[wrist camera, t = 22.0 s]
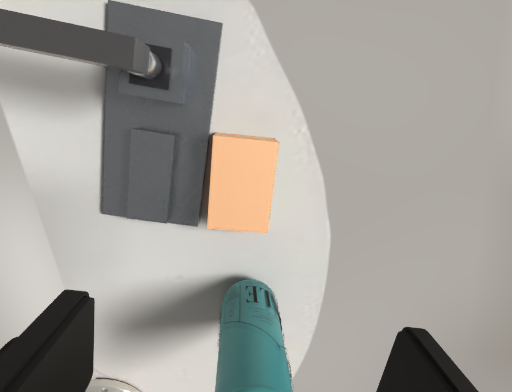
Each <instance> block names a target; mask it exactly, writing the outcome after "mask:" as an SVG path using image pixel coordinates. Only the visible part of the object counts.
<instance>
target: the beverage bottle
mask: <svg viewBox="0 0 512 392" xmlns="http://www.w3.org/2000/svg"><path fill="white" fill-rule="evenodd" d="M273 293H274V292H272V291H271V289H270V288H269V287H268V286H267V285H265V284H264V283H262V282H260V281H257V280H242V281H239V282H237V283H235V284H233V285H232V286H231V287H230V288H229V289H228V290H227V292H226V293H225V295H224V297H223V301H222V311H221V316H220V317H221V320H220V321H221V322H220V323H221V324H220V327H219V328H220V330H219V329H218V330H219V331H220V336H219V353H218V365H217V375H216V386H215V392H293V391H292V386H291V380H292V379H290V377H292V376H290V375H291V374H290V373H289V372H291V368H290V371H289V367H290V365H289V367H288V364H289V363H288V361H287V357H286V354H287V353H286V352H285V349H286V348H285V347H284V340H283V337H284V334H283V335H282V326H281V323H282V322H281V321H280V320H281V318H280V316H279V313H280V312H279V313H278V308H279V307H278V306H277V304H278V302H277V304H276V300H277V299H275V296H274V294H273ZM220 307H221V306H220ZM217 346H218V341H217ZM286 350H287V349H286Z"/></svg>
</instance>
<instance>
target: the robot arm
mask: <svg viewBox="0 0 512 392" xmlns="http://www.w3.org/2000/svg"><path fill="white" fill-rule="evenodd" d="M93 352H94V298H90V297H89V294H88V292H85V291H76V290H64V291H63V292H62V293H61V294H60V295H59V296H58V297H57V298H56V299H55V300H54V301H53V302H52V303H51V304H50V305H49V306H48V307H47V308H46V309H45V310H44V311H43V313H41V314H40V316H38V317H37V318H36V319H35V320H34V321H33V323H32V324H31V325H30V326H29V327H28V328H27V329H26V330H25V331H24V332H23V333H22V334H21V335H20V336H19V337H16V338H13V339H12V340H10V341H9V342H8V343H7V344H5V346H3V348H1V350H0V392H140V391H139V390H137V389H136V388H134V387H132V386H130V385H128V384H126V383H123V382H120V381H116V380H109V379H95V380H91V378H92V374H93ZM376 392H478V391H477V389H476V388H475V387H474V386H473V385H472V383H471V382H470V381H469V380H468V379H467V377H465V375H464V374H463V373H462V372H461V370H460V369H459V368H458V367H457V366H456V364H455V363H454V362H453V361H452V360H451V358H450V357H449V356H448V355H447V354H446V353H445V351H444V350H443V349H442V348H441V347H440V345H439V344H438V343H437V342H436V341H435V340H434V338H433V337H432V336H431V335H430V334H429V333H428V331H426V330H425V329H421V328H412V327H405V328H403V330H402V331H400V332H398V334H397V336H396V339H395V342H394V345H393V347H392V350H391V353H390V356H389V358H388V361H387V364H386V367H385V370H384V372H383V375H382V378H381V380H380V383H379V386H378V389H377V391H376Z"/></svg>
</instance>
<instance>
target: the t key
mask: <svg viewBox="0 0 512 392" xmlns="http://www.w3.org/2000/svg"><path fill="white" fill-rule="evenodd" d="M0 46H4V47H9V48H14V49H19V50H24V51H29V52H34V53H39V54H44V55H49V56H54V57H59V58H64V59H69V60H74V61H79V62H84V63H89V64H94V65H99V66H104V67H109V68H114V69H119V70H124V71H127V72H129V73H132V74H135V75H138V76H141V77H144V78H147V79H154V78H156V77H158V76H159V75H160V73H161V70H162V64H161V61H160V59H159V58H158V56H157V55H155V54H154V53H152V52H151V51H150V47H149V46H147V45H146V44H144V43H143V42H141V41H140V40H138V39H137V38H135V37H131V36H127V35H122V34H117V33H112V32H108V31H103V30H98V29H93V28H89V27H84V26H79V25H75V24H70V23H65V22H60V21H56V20H51V19H46V18H42V17H37V16H32V15H27V14H23V13H18V12H13V11H8V10H4V9H0Z"/></svg>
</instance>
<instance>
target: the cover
mask: <svg viewBox="0 0 512 392" xmlns="http://www.w3.org/2000/svg"><path fill="white" fill-rule="evenodd" d="M278 149H279V142H278V141H277V140H276V139H275V138H265V137H256V136H246V135H237V134H227V133H217V132H216V133H215V134H214V135H213V146H212V161H211V176H210V192H209V207H208V222H207V228H208V229H220V230H233V231H246V232H258V233H268V227H269V219H270V211H271V203H272V196H273V188H274V180H275V172H276V164H277V156H278Z"/></svg>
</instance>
